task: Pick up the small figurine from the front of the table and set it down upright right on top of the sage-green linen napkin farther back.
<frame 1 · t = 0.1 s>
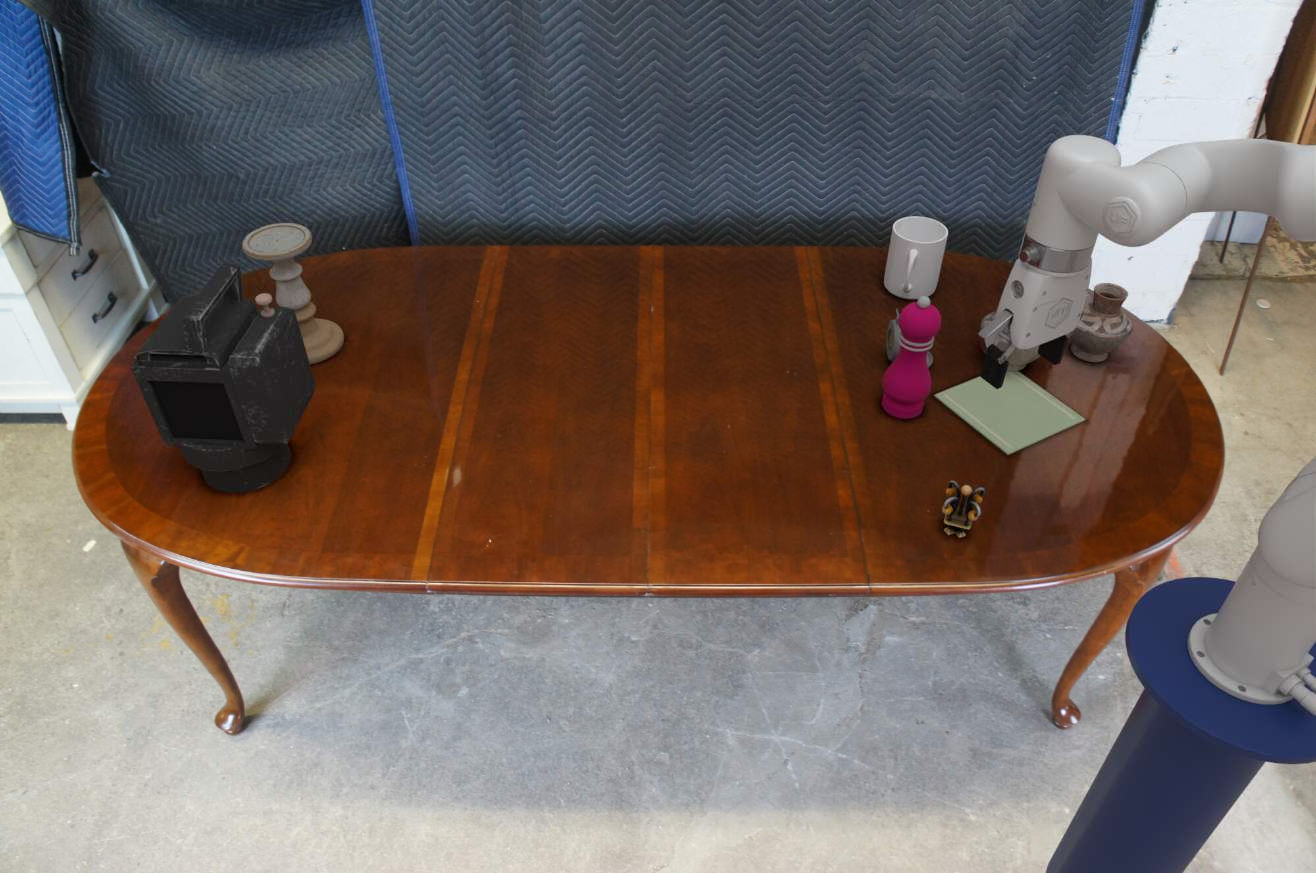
hand: (1019, 370, 122), 23 cm above the table, tool pointing down, fingers open, 9 cm apart
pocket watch: (903, 362, 162), on the table
pottery: (1046, 358, 162), on the table, touching napkin
napkin: (1008, 408, 152), on the table
pepper mill: (901, 407, 153), on the table
candle holder: (307, 346, 165), on the table
mug: (909, 291, 178), on the table
figurine: (955, 530, 133), on the table
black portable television: (257, 465, 143), on the table
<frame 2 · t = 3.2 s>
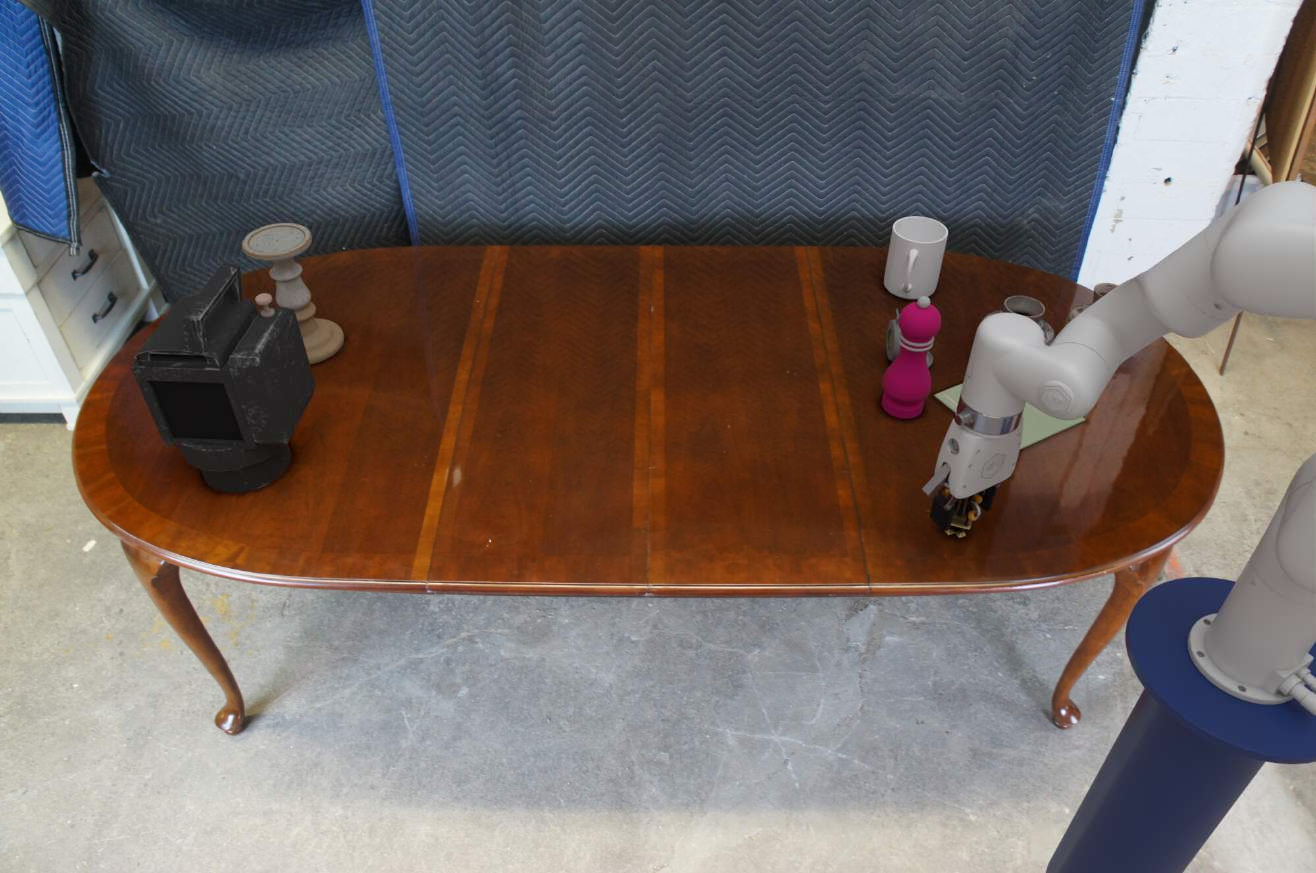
hand: (960, 513, 131), 3 cm above the table, tool pointing down, fingers closed on figurine, 6 cm apart
figurine: (955, 530, 133), on the table, touching gripper
everything else where it was.
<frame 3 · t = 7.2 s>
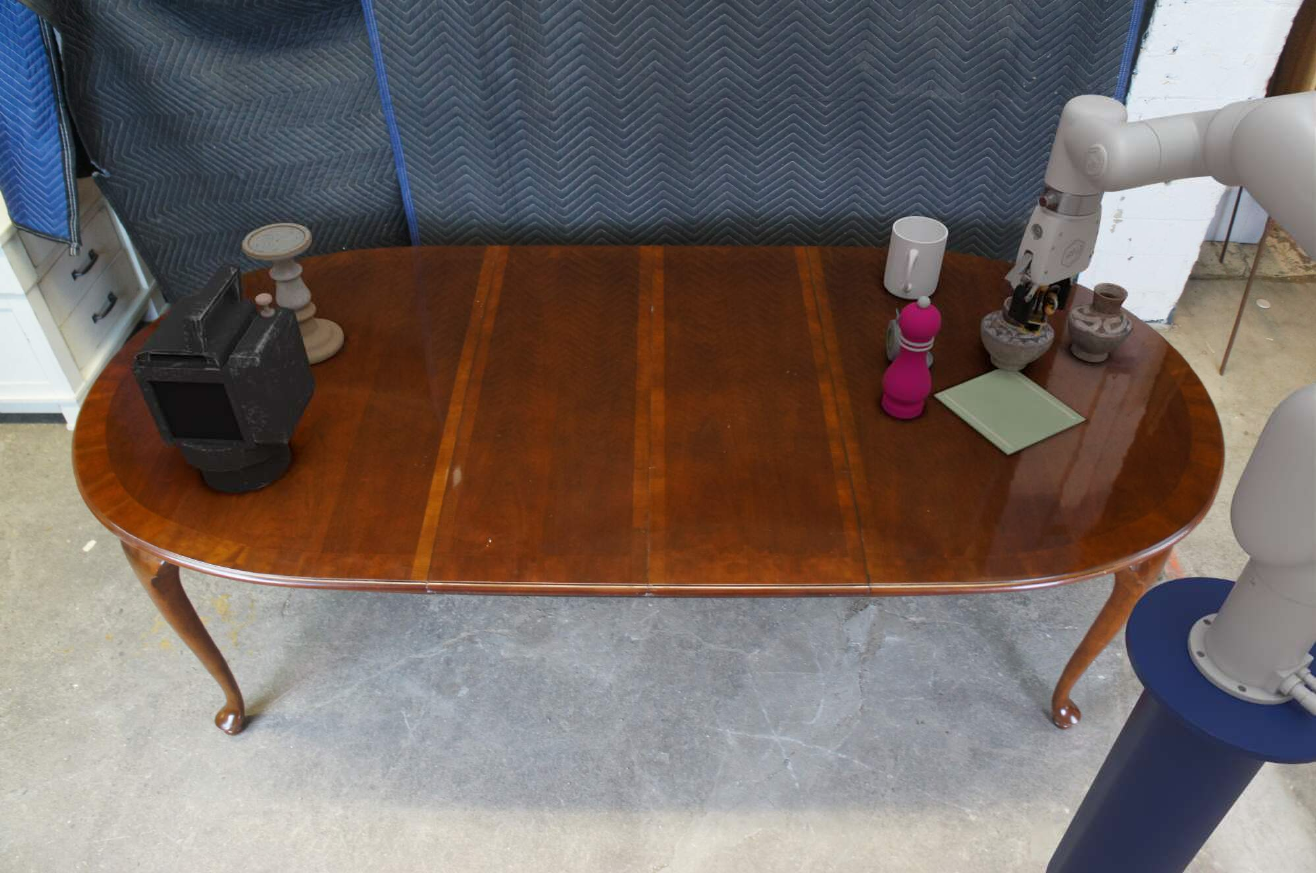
hand: (1036, 311, 138), 19 cm above the table, tool pointing down, fingers closed on figurine, 6 cm apart
figurine: (1030, 331, 140), point 16 cm above the table, touching gripper
everything else where it was.
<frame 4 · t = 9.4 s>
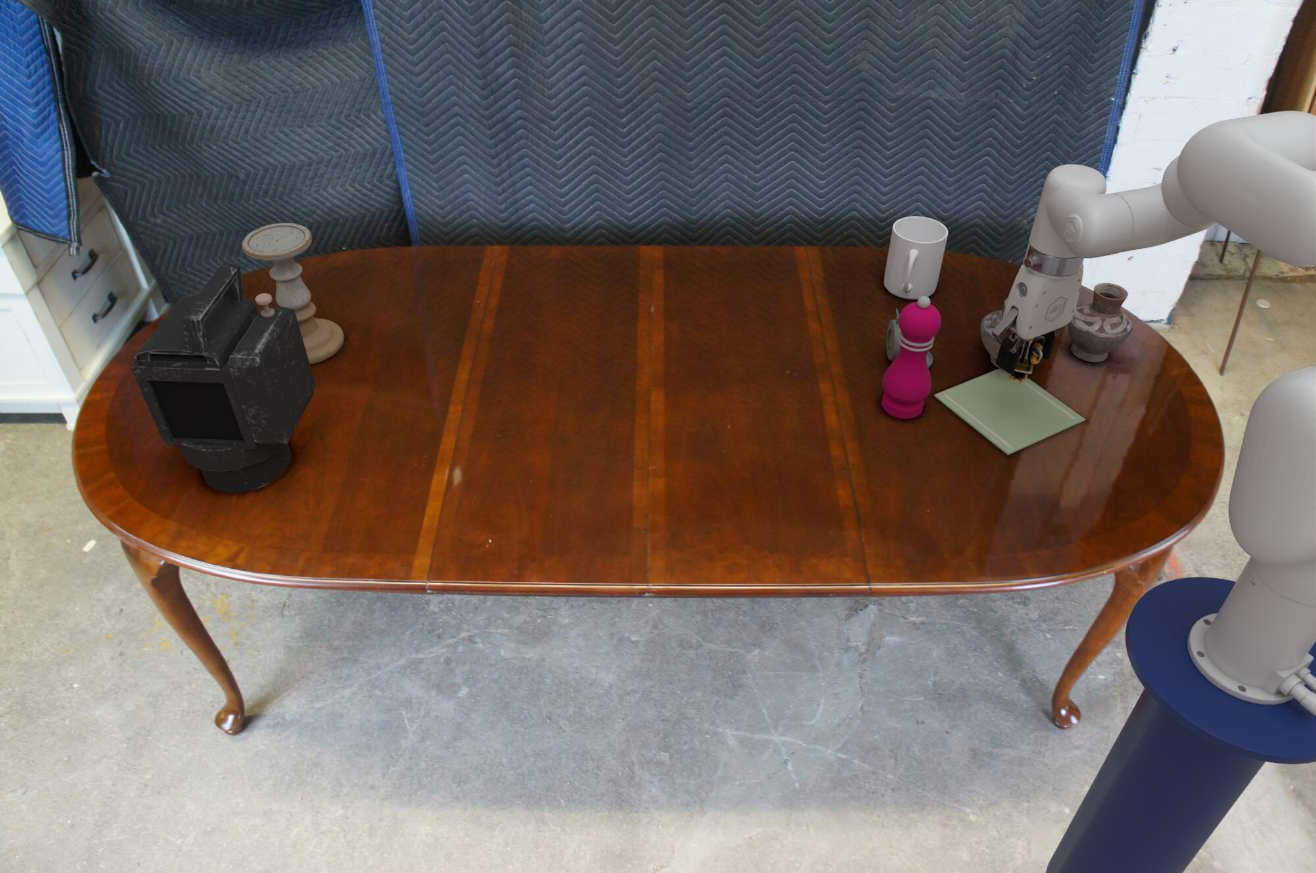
hand: (1022, 360, 146), 9 cm above the table, tool pointing down, fingers closed on figurine, 6 cm apart
figurine: (1017, 378, 148), point 6 cm above the table, touching gripper
everything else where it was.
when the fingers open (3 cm above the table, at t = 11.3 s): figurine stays where it is, resting on napkin.
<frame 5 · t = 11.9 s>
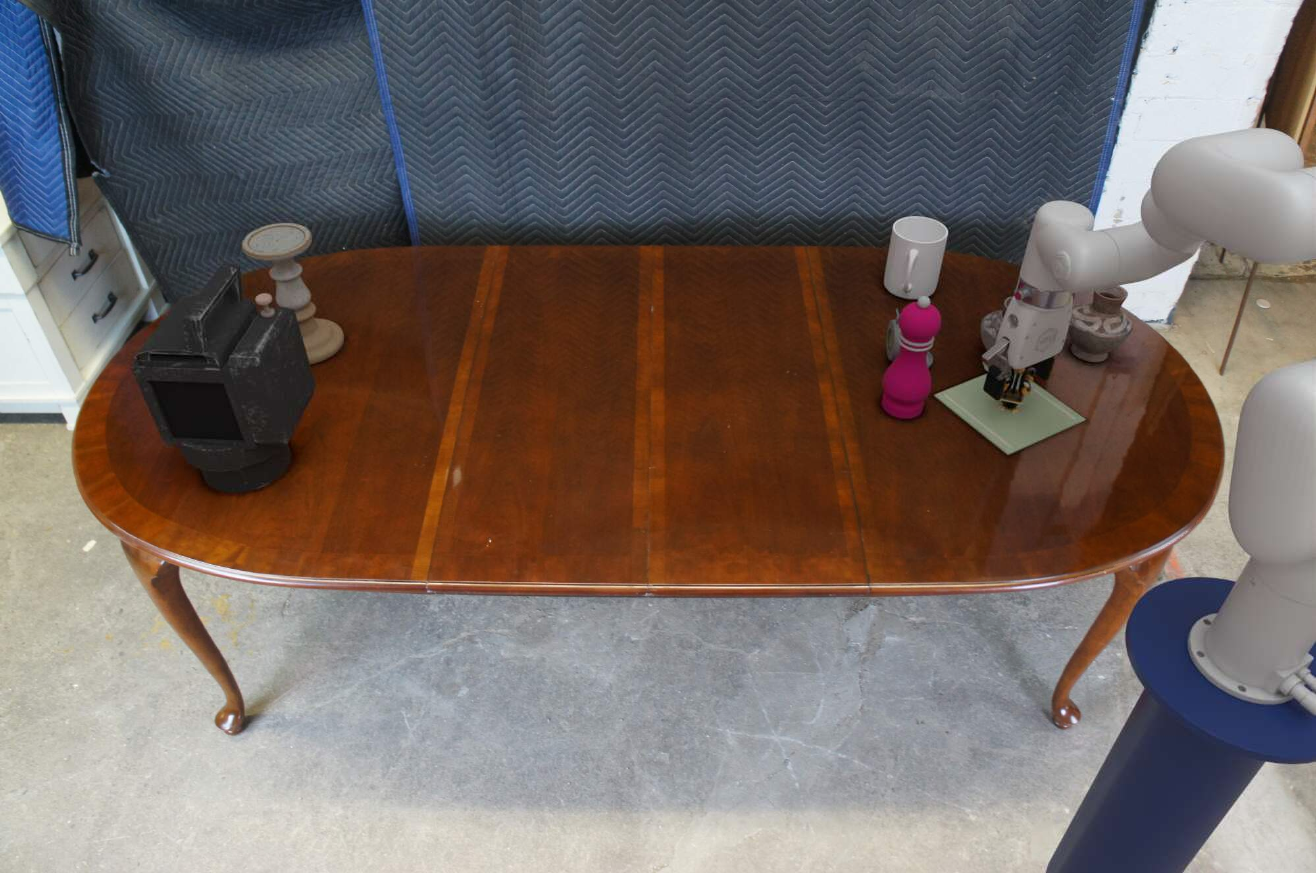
hand: (1015, 385, 149), 5 cm above the table, tool pointing down, fingers open, 9 cm apart
figurine: (1008, 408, 152), resting on napkin
everything else where it was.
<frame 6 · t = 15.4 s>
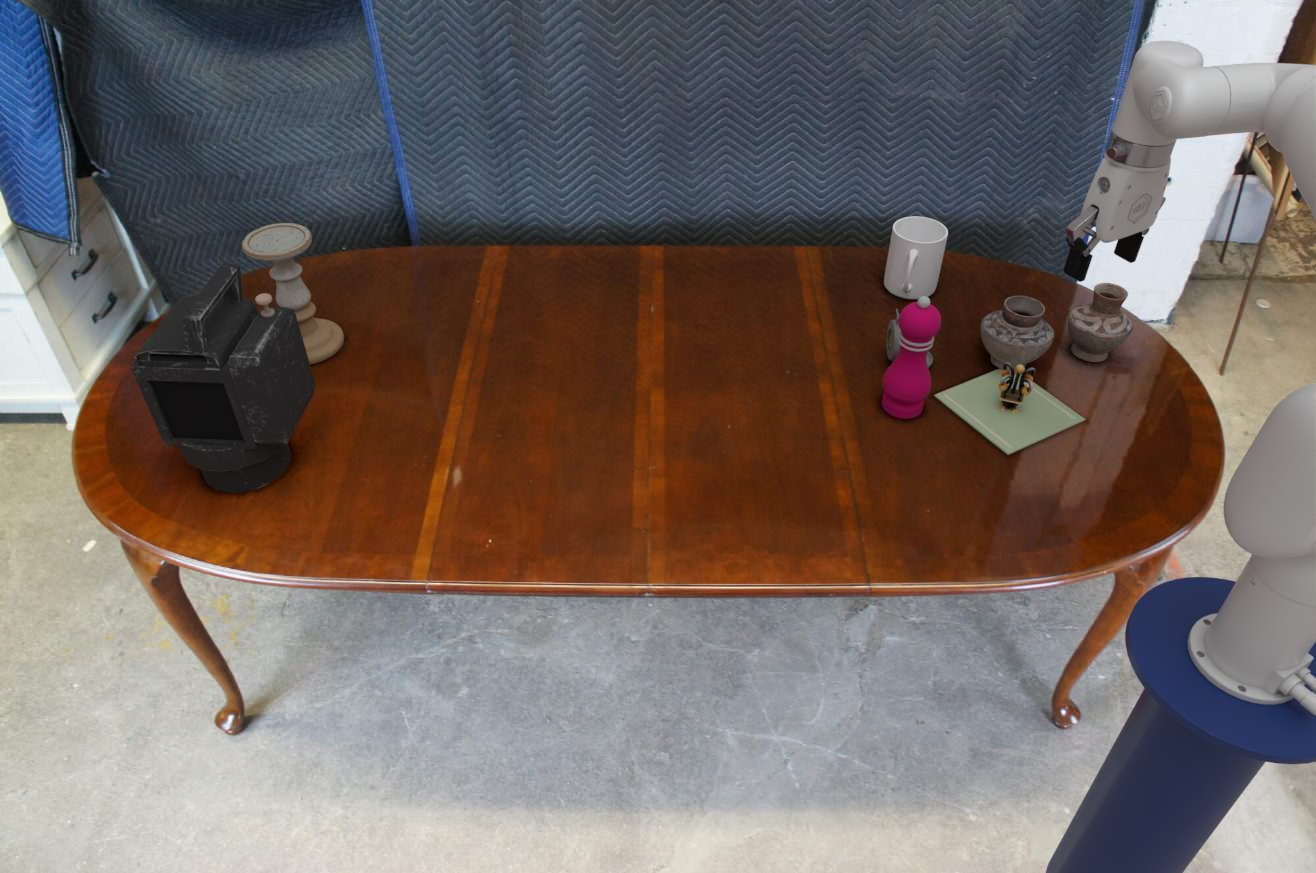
hand: (1099, 267, 134), 26 cm above the table, tool pointing down, fingers open, 9 cm apart
nothing on the table moved.
at the end: figurine inside the target area on the napkin (0.0 cm from its centre), point 0.1 cm above the napkin's base; figurine tilted 0°; the gripper is holding nothing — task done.
